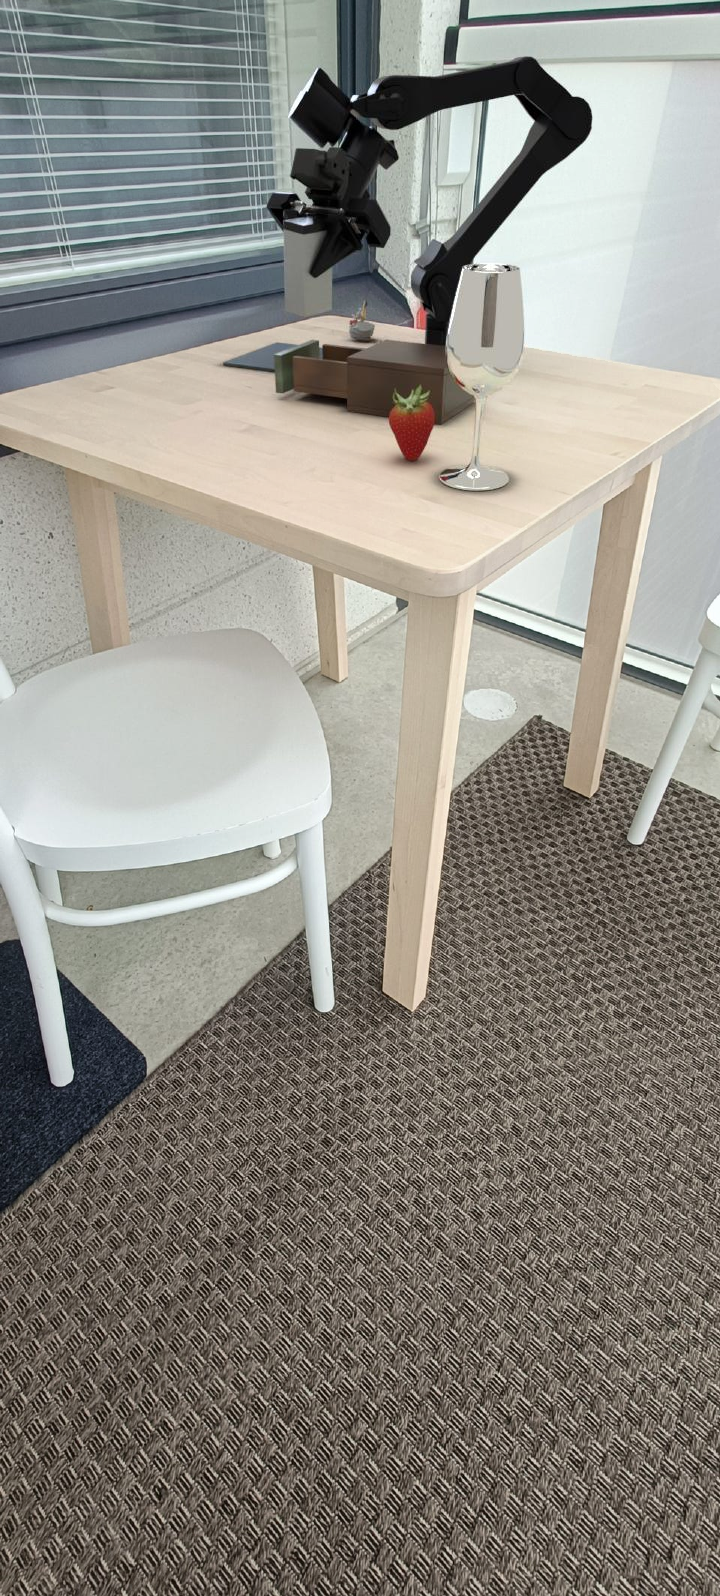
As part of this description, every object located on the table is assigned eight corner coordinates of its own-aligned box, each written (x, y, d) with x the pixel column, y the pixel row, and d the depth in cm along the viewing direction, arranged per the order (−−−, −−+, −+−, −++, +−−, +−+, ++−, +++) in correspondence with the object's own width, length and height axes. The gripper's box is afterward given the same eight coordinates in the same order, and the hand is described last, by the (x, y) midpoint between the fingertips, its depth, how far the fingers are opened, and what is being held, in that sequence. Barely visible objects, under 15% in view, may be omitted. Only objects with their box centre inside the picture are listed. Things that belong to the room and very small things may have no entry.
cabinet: (347, 411, 116) (346, 357, 112) (385, 390, 124) (385, 339, 120) (441, 424, 111) (444, 368, 107) (474, 402, 119) (478, 349, 115)
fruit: (378, 461, 100) (379, 386, 95) (405, 449, 104) (407, 376, 99) (415, 470, 98) (418, 394, 93) (441, 457, 101) (445, 383, 96)
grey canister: (312, 304, 128) (312, 215, 120) (331, 310, 126) (333, 220, 118) (284, 311, 125) (283, 220, 117) (304, 317, 123) (303, 225, 115)
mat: (276, 345, 147) (276, 342, 147) (350, 353, 142) (350, 350, 142) (223, 365, 136) (223, 362, 136) (300, 375, 131) (300, 372, 131)
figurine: (376, 342, 148) (376, 302, 145) (350, 343, 148) (350, 303, 144) (372, 336, 153) (372, 297, 149) (347, 336, 152) (346, 297, 148)
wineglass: (423, 480, 95) (433, 268, 83) (467, 462, 100) (482, 259, 87) (481, 497, 91) (500, 277, 79) (523, 478, 96) (548, 267, 83)
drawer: (268, 391, 121) (265, 353, 118) (305, 375, 128) (304, 338, 125) (356, 404, 116) (356, 364, 113) (390, 385, 123) (390, 348, 120)
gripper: (271, 119, 118) (219, 224, 119) (378, 121, 109) (323, 235, 109) (311, 186, 128) (264, 283, 128) (414, 193, 119) (362, 297, 119)
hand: (300, 274), depth 121 cm, fingers closed on grey canister, 4 cm apart
